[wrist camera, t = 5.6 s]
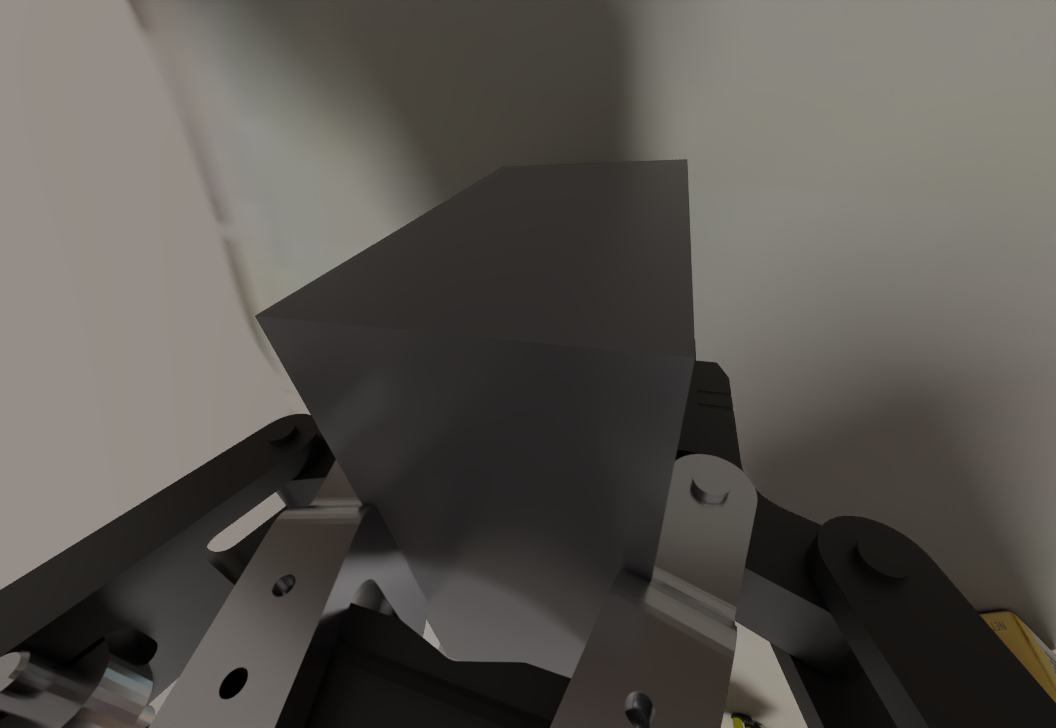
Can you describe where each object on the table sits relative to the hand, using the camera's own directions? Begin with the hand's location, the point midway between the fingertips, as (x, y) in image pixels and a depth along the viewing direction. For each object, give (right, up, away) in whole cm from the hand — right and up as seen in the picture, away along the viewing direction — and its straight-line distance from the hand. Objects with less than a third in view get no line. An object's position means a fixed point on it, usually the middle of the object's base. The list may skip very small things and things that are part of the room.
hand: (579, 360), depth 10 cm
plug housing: (0, +1, +1) cm, 1 cm away
